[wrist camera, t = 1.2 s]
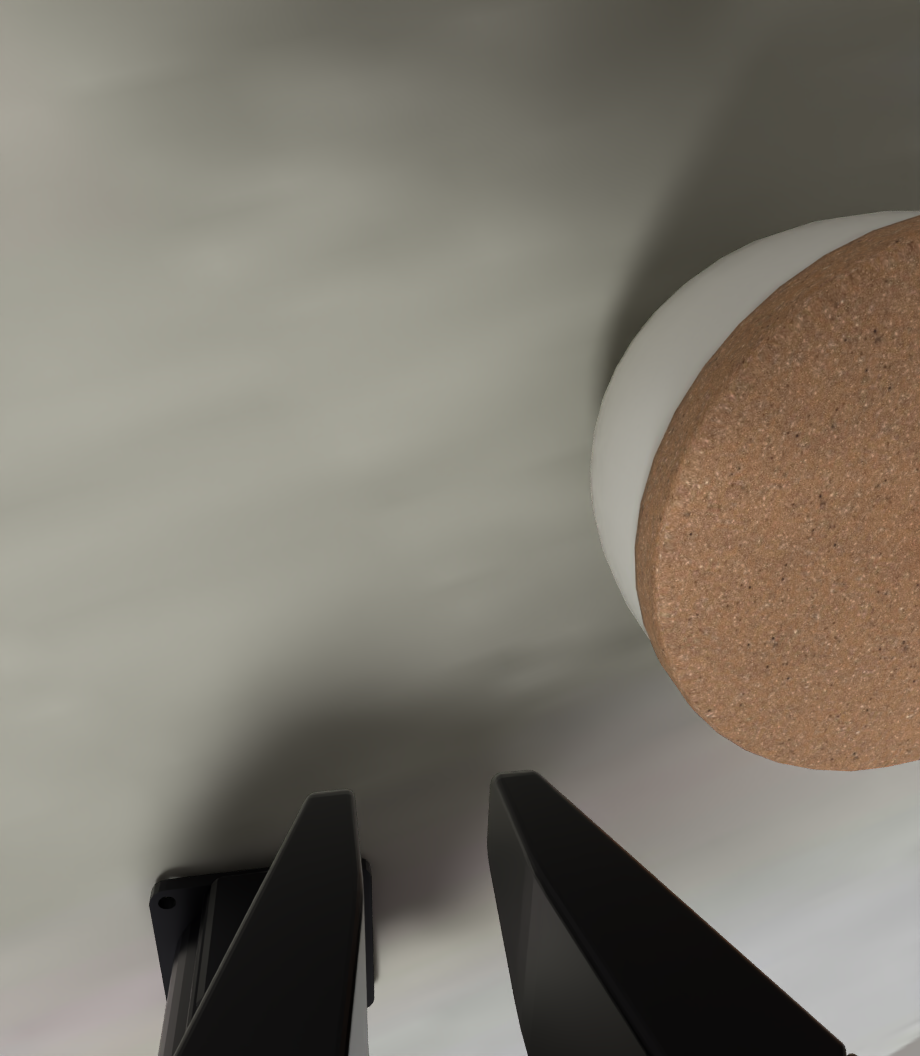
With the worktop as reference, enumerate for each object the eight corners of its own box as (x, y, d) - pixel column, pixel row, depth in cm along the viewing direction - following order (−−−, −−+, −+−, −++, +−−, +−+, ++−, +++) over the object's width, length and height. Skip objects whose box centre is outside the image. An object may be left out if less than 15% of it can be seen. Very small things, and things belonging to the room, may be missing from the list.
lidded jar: (847, 596, 24) (1139, 823, 16) (507, 590, 22) (634, 852, 13) (975, 220, 20) (1466, 255, 12) (571, 167, 18) (813, 163, 9)
